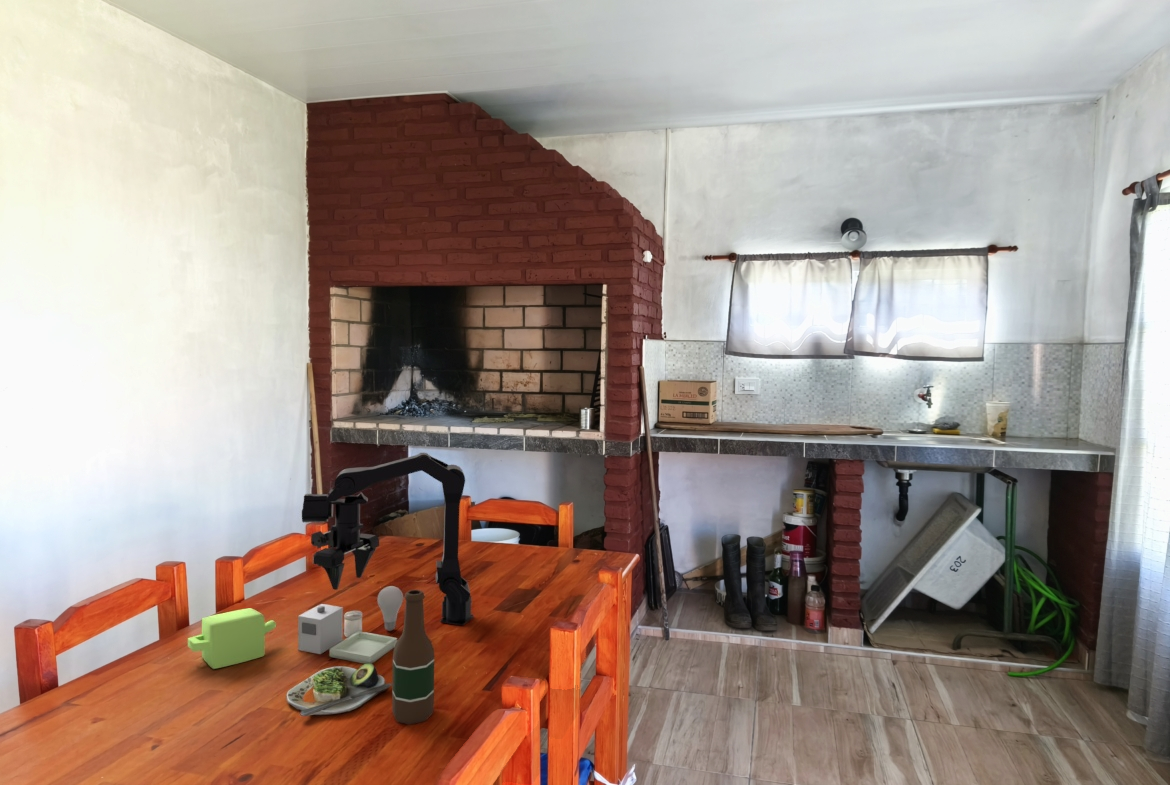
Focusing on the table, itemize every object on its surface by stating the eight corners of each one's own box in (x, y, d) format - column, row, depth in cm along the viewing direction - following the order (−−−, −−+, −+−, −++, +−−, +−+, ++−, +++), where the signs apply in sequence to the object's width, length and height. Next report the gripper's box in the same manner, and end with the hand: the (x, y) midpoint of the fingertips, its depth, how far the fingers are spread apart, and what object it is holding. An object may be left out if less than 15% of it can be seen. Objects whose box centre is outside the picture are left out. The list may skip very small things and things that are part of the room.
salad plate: (336, 734, 129) (336, 709, 128) (261, 712, 135) (261, 689, 135) (401, 687, 146) (401, 665, 146) (332, 670, 153) (332, 649, 153)
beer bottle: (395, 704, 139) (397, 584, 137) (436, 703, 139) (437, 584, 138) (388, 725, 131) (389, 599, 129) (430, 725, 132) (432, 599, 130)
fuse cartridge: (365, 632, 172) (365, 612, 172) (355, 638, 168) (355, 618, 168) (351, 629, 173) (351, 609, 173) (340, 636, 170) (340, 615, 169)
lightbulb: (395, 636, 170) (396, 592, 169) (372, 634, 171) (372, 589, 170) (407, 627, 176) (407, 583, 175) (384, 624, 177) (384, 581, 176)
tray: (397, 645, 165) (397, 637, 165) (370, 664, 155) (370, 656, 155) (358, 638, 168) (358, 631, 168) (329, 656, 158) (329, 648, 158)
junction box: (343, 639, 167) (343, 602, 167) (319, 654, 159) (319, 615, 159) (322, 635, 169) (322, 599, 169) (297, 650, 161) (297, 612, 160)
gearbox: (268, 639, 168) (268, 600, 167) (285, 651, 161) (285, 610, 160) (184, 660, 155) (184, 617, 155) (198, 674, 148) (198, 629, 148)
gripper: (343, 509, 184) (343, 568, 186) (293, 526, 167) (293, 591, 168) (380, 513, 181) (380, 573, 182) (333, 531, 163) (333, 597, 164)
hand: (347, 583), depth 174 cm, fingers open, 9 cm apart
